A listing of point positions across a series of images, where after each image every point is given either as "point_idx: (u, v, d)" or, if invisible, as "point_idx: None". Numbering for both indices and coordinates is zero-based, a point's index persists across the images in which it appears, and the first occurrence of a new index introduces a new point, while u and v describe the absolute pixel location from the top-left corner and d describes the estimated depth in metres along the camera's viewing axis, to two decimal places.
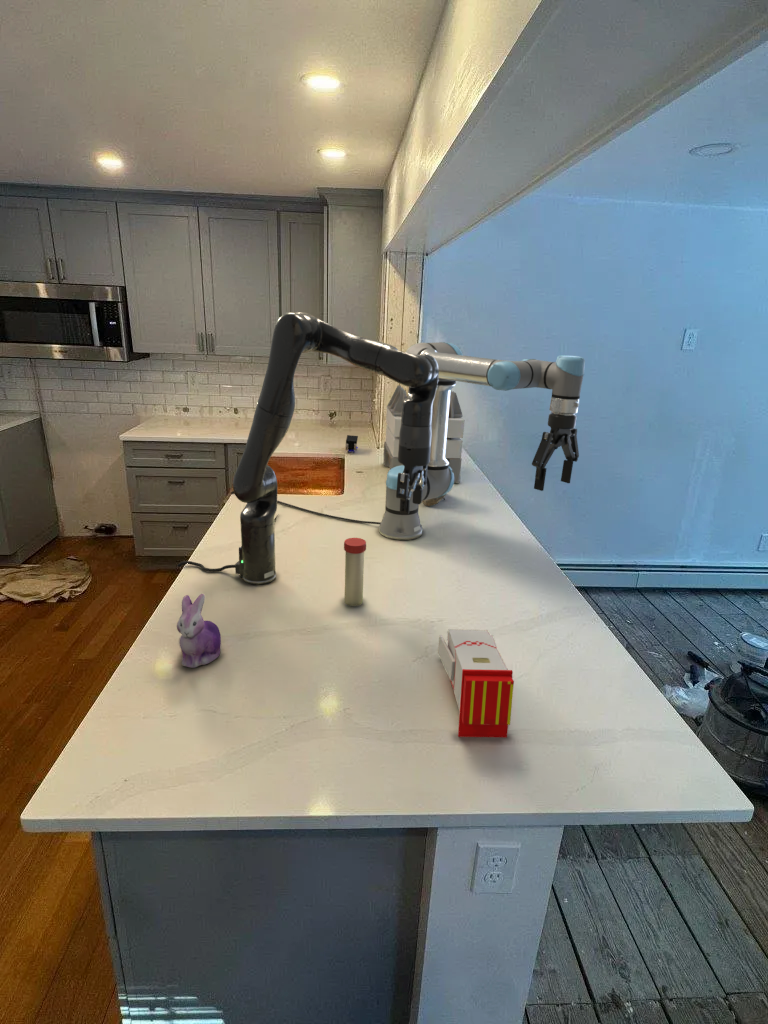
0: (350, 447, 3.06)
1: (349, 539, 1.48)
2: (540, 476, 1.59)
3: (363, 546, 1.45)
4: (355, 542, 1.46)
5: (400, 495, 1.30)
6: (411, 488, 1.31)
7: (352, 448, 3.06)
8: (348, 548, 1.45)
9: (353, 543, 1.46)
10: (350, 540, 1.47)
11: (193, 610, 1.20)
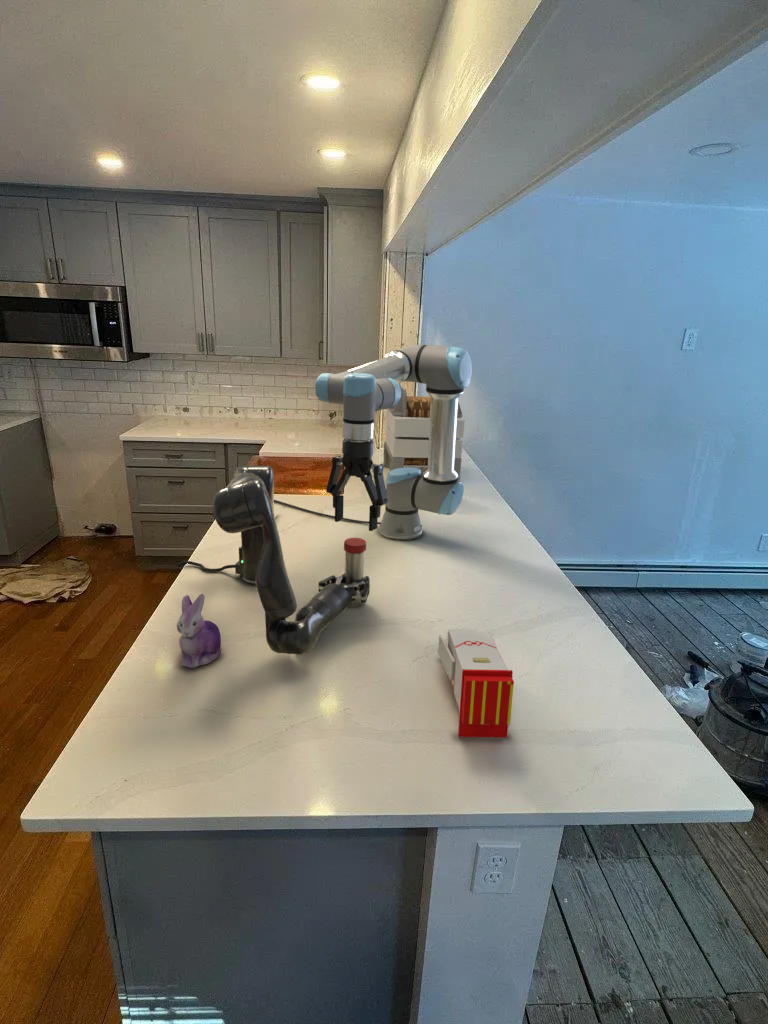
0: None
1: (349, 539, 1.48)
2: None
3: (363, 546, 1.45)
4: (355, 542, 1.46)
5: (331, 579, 1.50)
6: None
7: None
8: (348, 548, 1.45)
9: (353, 543, 1.46)
10: (350, 540, 1.47)
11: (193, 610, 1.20)
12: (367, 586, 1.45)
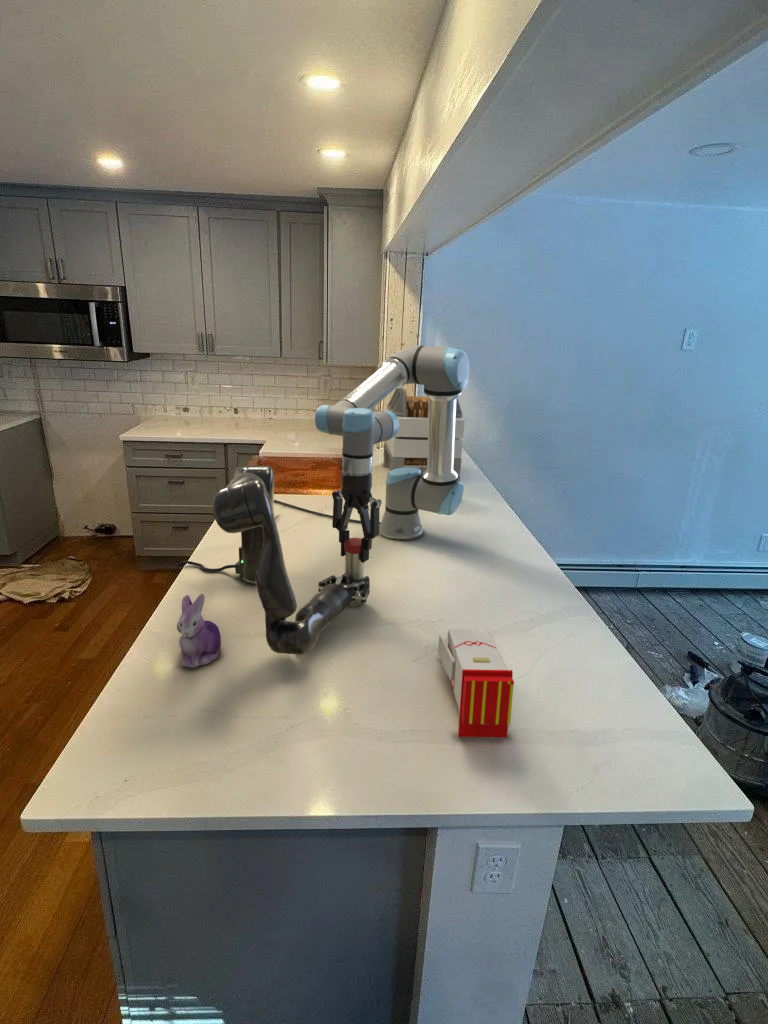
0: None
1: (349, 539, 1.48)
2: None
3: None
4: (355, 542, 1.46)
5: (331, 579, 1.50)
6: None
7: None
8: (348, 548, 1.45)
9: (353, 543, 1.46)
10: (350, 540, 1.47)
11: (193, 610, 1.20)
12: (366, 586, 1.45)
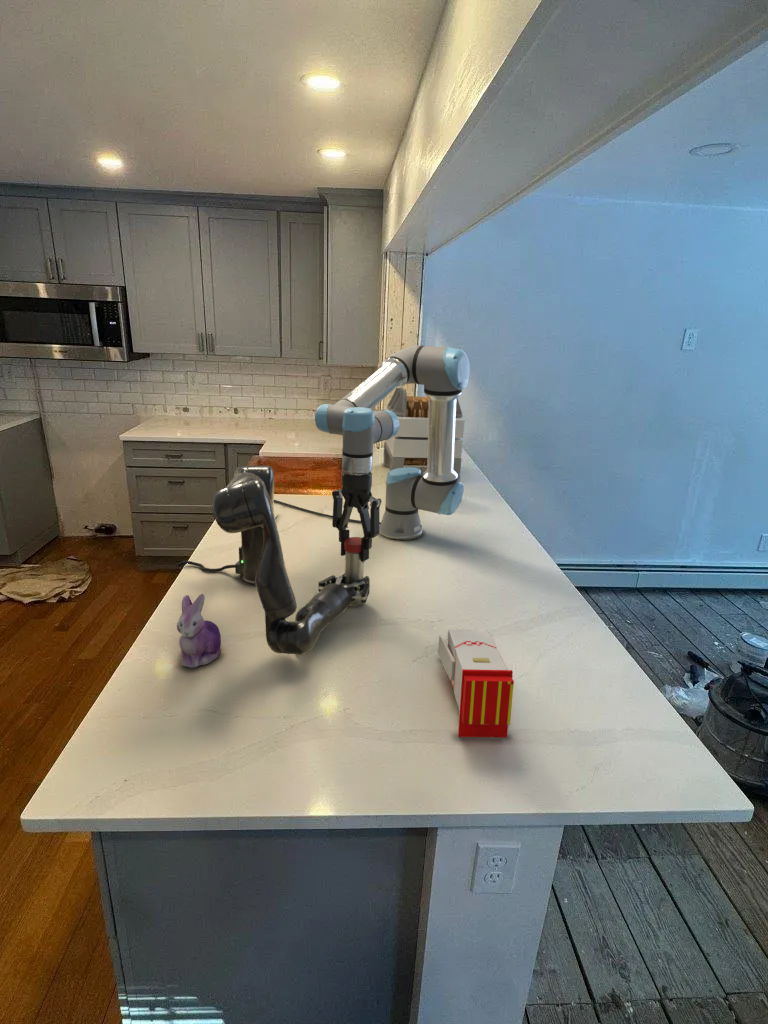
0: None
1: (353, 544, 1.45)
2: None
3: None
4: (356, 540, 1.47)
5: (331, 579, 1.50)
6: None
7: None
8: None
9: (359, 540, 1.47)
10: (355, 543, 1.45)
11: (193, 610, 1.20)
12: (366, 586, 1.45)
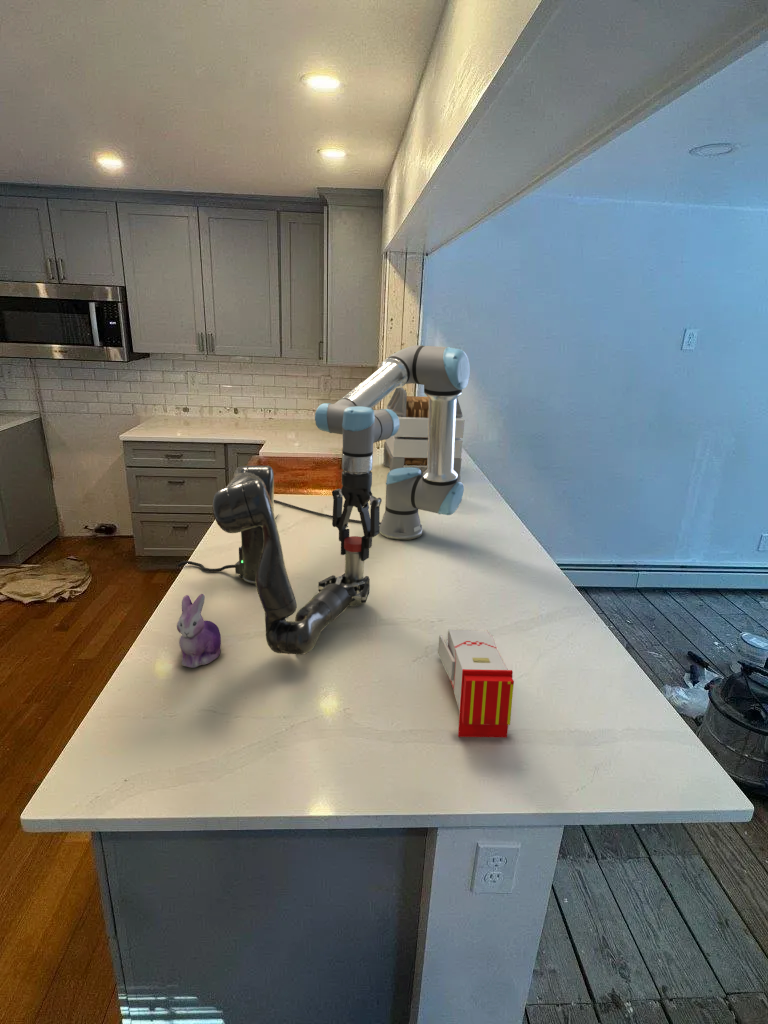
0: None
1: None
2: None
3: (345, 544, 1.45)
4: (353, 540, 1.47)
5: (331, 579, 1.50)
6: None
7: None
8: None
9: (351, 539, 1.47)
10: (359, 539, 1.47)
11: (193, 610, 1.20)
12: (366, 586, 1.45)
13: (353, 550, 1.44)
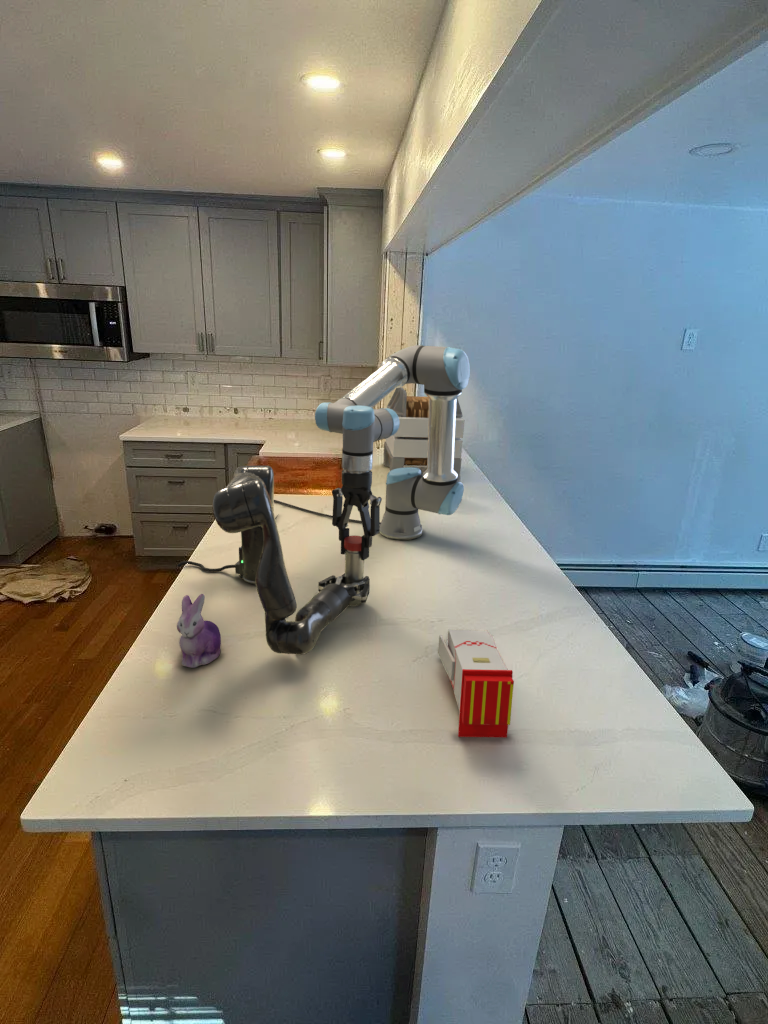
0: None
1: (348, 537, 1.47)
2: None
3: None
4: (355, 540, 1.46)
5: (331, 579, 1.50)
6: None
7: None
8: (350, 546, 1.44)
9: (354, 541, 1.45)
10: (349, 538, 1.47)
11: (193, 610, 1.20)
12: (366, 586, 1.45)
13: None
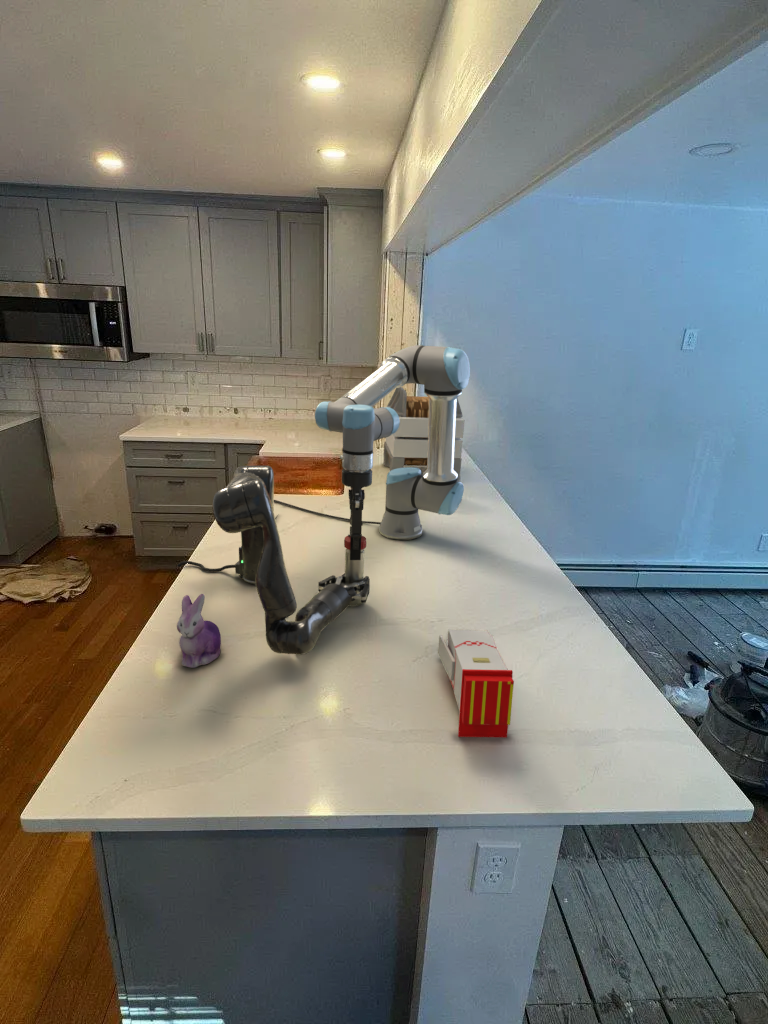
0: None
1: None
2: None
3: None
4: None
5: (331, 579, 1.50)
6: None
7: None
8: None
9: None
10: None
11: (193, 610, 1.20)
12: (366, 586, 1.45)
13: None
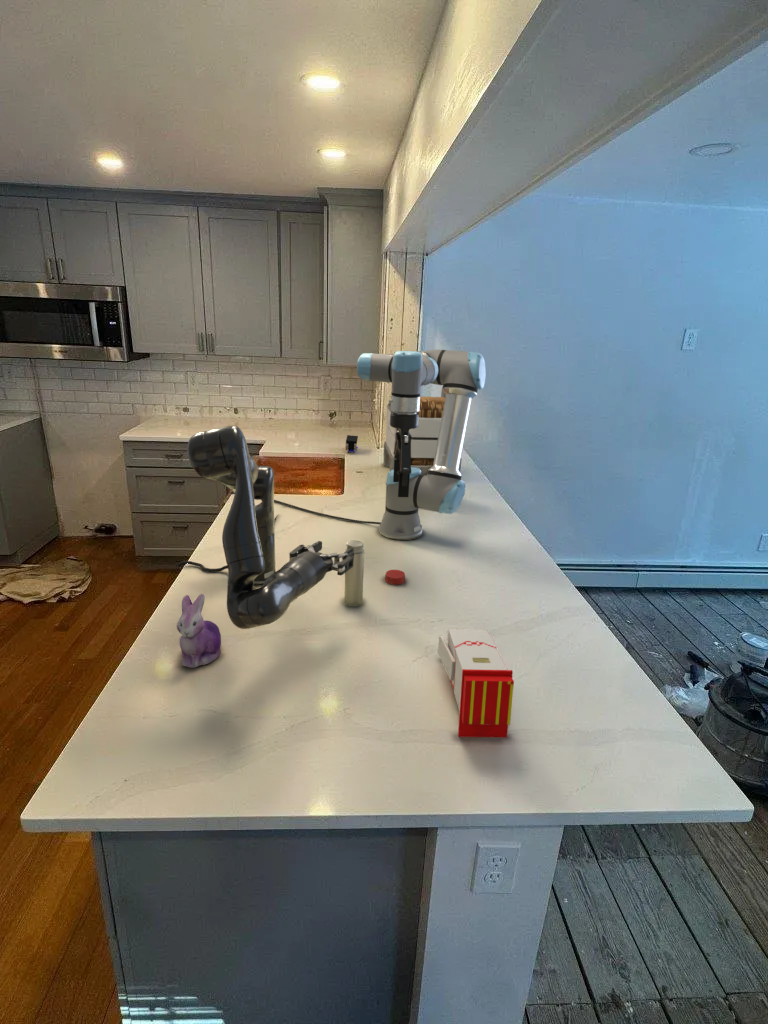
0: (350, 447, 3.06)
1: (396, 577, 1.63)
2: None
3: None
4: (396, 573, 1.65)
5: None
6: None
7: (352, 448, 3.06)
8: None
9: (398, 572, 1.66)
10: (397, 575, 1.64)
11: (193, 610, 1.20)
12: (349, 558, 1.29)
13: None
